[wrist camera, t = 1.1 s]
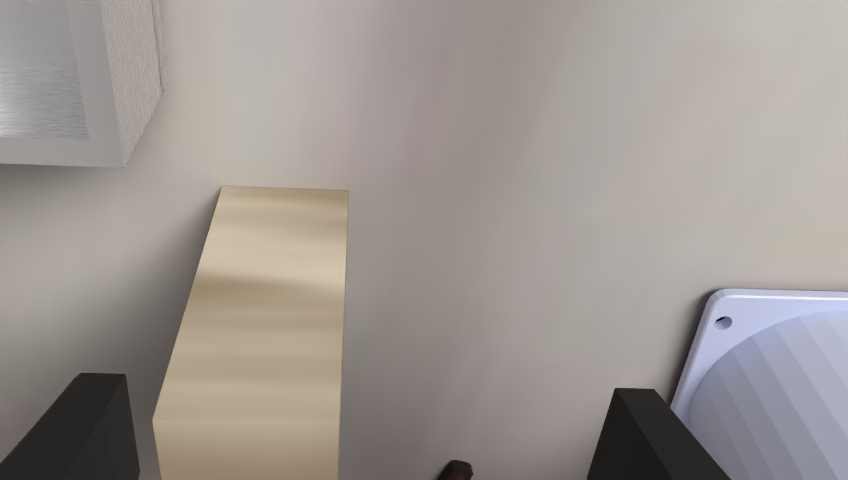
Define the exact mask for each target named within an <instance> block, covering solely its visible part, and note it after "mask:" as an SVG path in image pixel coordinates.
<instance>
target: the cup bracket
mask: <svg viewBox="0 0 848 480" xmlns="http://www.w3.org/2000/svg"><path fill="white" fill-rule="evenodd" d="M167 85H168V83H167V73H166V64H165V54H164V45H163V35H162V26H161V17H160V7H159V0H0V163H4V164H30V165H55V166H81V167H106V168H125V166H126V164H127V162H128V160H129V158H130V156H131V154H132V152H133V150H134V149H135V147H136V145H137V143H138V141H139V139H140V137H141V135H142V133H143V131H144V129H145V127H146V125H147V123H148V121H149V119H150V118H151V116H152V114H153V112H154V110H155V108H156V106H157V104H158V102H159V100H160V98H161V96H162V94H163V92H164V90H165V88H166V87H167Z"/></svg>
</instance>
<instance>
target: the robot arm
mask: <svg viewBox="0 0 848 480" xmlns="http://www.w3.org/2000/svg"><path fill="white" fill-rule="evenodd" d="M724 316H726V317H725V318H724V319H723V320H721V321H717V322H715V321H716V320H717V319H719V318H720V317H724ZM139 472H140V468H139V462H138V455H137V448H136V442H135V435H134V428H133V422H132V415H131V408H130V402H129V395H128V388H127V382H126V375H125V374H102V373H81V374H79V375H78V376H77V377H76V378H74V379H73V381H72V382H71V383H70V384H69V385H68V387H67V388H66V389H65V390H64V391H63V393H62V394H61V395H60V396H59V397H58V398H57V400H56V401H55V402H54V403H53V404H52V406H51V407H50V408H49V409H48V410H47V411H46V413H45V414H44V415H43V416H42V417H41V418H40V420H39V421H38V422H37V423H36V424H35V425H34V427H33V428H32V429H31V430H30V431H29V432H28V433H27V435H26V436H25V437H24V438H23V439H22V440H21V441H20V442H19V444H18V445H17V446H16V447H15V448H14V449H13V450H12V451H11V453H10V454H9V455H8V456H7V457H6V458H5V459H4V460H3V461H2V462H1V463H0V480H138V477H139ZM587 480H848V292H836V291H799V290H763V289H722V290H719V291H717V292H715V293H714V294H713V295H711V296H710V298H709V299H708V301H707V303H706V306H705V309H704V312H703V315H702V318H701V321H700V323H699V326H698V329H697V332H696V335H695V338H694V341H693V343H692V346H691V349H690V352H689V355H688V358H687V361H686V363H685V366H684V369H683V372H682V375H681V378H680V381H679V384H678V386H677V389H676V392H675V395H674V398H673V401H672V404H671V406H670V407H669V406H668V405H667V404H666V402H665V401H664V400H663V399H662V398H661V397H660V395H659V394H658V393H657V392H656V391H655V390H654V389H635V388H615V390H614V393H613V396H612V399H611V403H610V406H609V409H608V412H607V415H606V419H605V422H604V425H603V428H602V431H601V434H600V438H599V441H598V444H597V447H596V450H595V454H594V457H593V460H592V463H591V466H590V469H589V473H588V476H587Z"/></svg>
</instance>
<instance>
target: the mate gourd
mask: <svg viewBox="0 0 848 480" xmlns="http://www.w3.org/2000/svg"><path fill="white" fill-rule="evenodd" d="M472 475H473V472H472V468H471V465H470V464H469V463H466V462H462V461H458V460H453V461H450V463H449V464H448V465H447V467H446V468H445V469H444V471H443V472H442V474H441V475H440V477H439V479H438V480H470V479H471V477H472Z"/></svg>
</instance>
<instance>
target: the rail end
mask: <svg viewBox="0 0 848 480" xmlns="http://www.w3.org/2000/svg"><path fill="white" fill-rule="evenodd" d="M347 223H348V191H340V190H314V189H288V188H262V187H236V186H222V189H221V192H220V195H219V199H218V202H217V205H216V209H215V212H214V215H213V219H212V222H211V225H210V229H209V232H208V235H207V239H206V242H205V245H204V249H203V252H202V255H201V259H200V262H199V265H198V269H197V272H196V275H195V279H194V282H193V285H192V289H191V292H190V295H189V299H188V302H187V305H186V309H185V312H184V315H183V319H182V322H181V326H180V329H179V332H178V336H177V339H176V342H175V346H174V349H173V352H172V356H171V359H170V362H169V366H168V369H167V372H166V376H165V379H164V382H163V386H162V389H161V392H160V396H159V399H158V402H157V406H156V409H155V412H154V416H153V419H152V423H153V429H154V435H155V442H156V448H157V455H158V461H159V467H160V474H161V480H338V470H339V445H340V419H341V393H342V367H343V341H344V316H345V290H346V257H347Z"/></svg>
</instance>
